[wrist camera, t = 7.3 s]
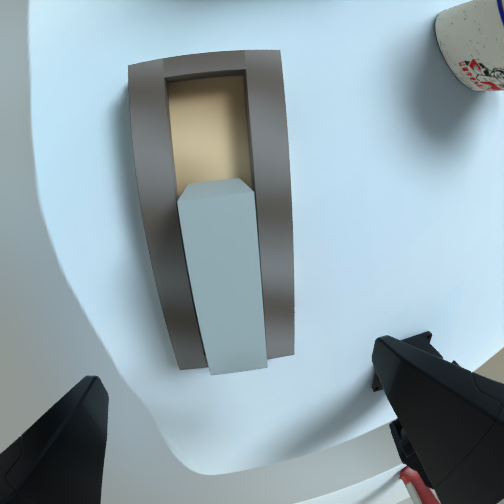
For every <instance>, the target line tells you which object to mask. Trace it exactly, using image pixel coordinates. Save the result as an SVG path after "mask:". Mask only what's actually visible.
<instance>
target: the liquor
mask: <svg viewBox="0 0 504 504" xmlns="http://www.w3.org/2000/svg"><path fill="white" fill-rule="evenodd" d="M399 478H400V479H402V480H403V482H404V484H405V486H406V488H407V490H408V492H409V494H410V497H411V499H412V501H413V503H414V504H441V503H440V501H439V499H438V497H437V495H436V493H435V491H434V489H431V488H429V487H427V486H425V484H424V482H423V480H422V479H421V477H420V475H419V474H418V472H417V471H414V470H412V469H411V468H410V467H408V466H406V467H405V468H404V469H403V470H402V472H401V474H400V477H399Z"/></svg>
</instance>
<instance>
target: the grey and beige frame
mask: <svg viewBox="0 0 504 504" xmlns="http://www.w3.org/2000/svg"><path fill="white" fill-rule="evenodd" d="M128 83H129V104H130V119H131V131H132V142H133V152H134V161H135V169H136V177H137V184H138V191H139V198H140V204H141V210H142V216H143V222H144V228H145V233H146V239H147V244H148V249H149V254H150V259H151V263H152V268H153V272H154V277H155V281H156V286H157V290H158V294H159V298H160V302H161V306H162V310H163V314H164V318H165V321H166V325H167V329H168V332H169V336H170V339H171V343H172V346H173V350H174V353H175V356H176V359H177V363H178V366H179V369H180V370H185V369H196V368H206V367H209V366H208V361H207V357H206V353H205V349H204V344H203V340H202V336H201V331H200V327H199V322H198V317H197V312H196V308H195V303H194V298H193V293H192V287H191V282H190V277H189V272H188V266H187V260H186V255H185V249H184V243H183V237H182V230H181V224H180V217H179V211H178V204H177V201H178V199H179V198H180V196H181V194H182V193H183V191H184V190H185V188H186V187H187V185H188V184H190V183H197V182H205V181H213V180H221V179H230V178H240V179H241V180H242V181H243V182H244V183H245V184H246V185H247V186H248V187H249V188H250V189H251V190H252V191H254V198H255V210H256V222H257V234H258V247H259V260H260V273H261V285H262V299H263V312H264V325H265V339H266V352H267V359H273V358H278V357H284V356H290V355H294V253H293V221H292V198H291V178H290V160H289V145H288V131H287V117H286V105H285V93H284V82H283V72H282V62H281V53H280V50H237V51H220V52H208V53H198V54H190V55H182V56H175V57H169V58H163V59H157V60H152V61H147V62H142V63H137V64H133V65H128Z"/></svg>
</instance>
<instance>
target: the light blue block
mask: <svg viewBox="0 0 504 504" xmlns="http://www.w3.org/2000/svg"><path fill="white" fill-rule="evenodd" d="M177 204H178V211H179V217H180V224H181V230H182V237H183V243H184V249H185V255H186V260H187V266H188V272H189V277H190V282H191V287H192V293H193V298H194V303H195V308H196V312H197V317H198V322H199V327H200V331H201V336H202V340H203V344H204V349H205V353H206V357H207V361H208V366H209V370H210V374H211V375H218V374H227V373H234V372H242V371H248V370H255V369H261V368H267V367H268V366H267V352H266V339H265V325H264V312H263V299H262V285H261V273H260V260H259V247H258V234H257V222H256V210H255V198H254V191H252V190H251V189H250V188H249V187H248V186H247V185H246V184H245V183H244V182H243V181H242V180H241V179H240V178H230V179H221V180H213V181H205V182H197V183H190V184H188V185H187V187H186V188H185V190H184V191H183V193H182V194H181V196H180V198H179V199H178V201H177Z"/></svg>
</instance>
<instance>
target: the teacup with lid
mask: <svg viewBox="0 0 504 504" xmlns="http://www.w3.org/2000/svg"><path fill="white" fill-rule="evenodd" d="M435 31H436V37H437V41H438V44H439V47H440V50H441V52H442V54H443V56H444V58H445V60H446V62H447V64H448V65H449V67H450V68H451V70H452V71H453V73H454V74H455V75H456V77H457V78H458V79H459V80H460V81H461V82H462V83H463V84H465V85H466V86H467V87H469V88H471V89H473V90H476V91H496V90H504V0H473V1H469V2H466V3H463V4H460V5H458V6H455V7H452V8H449V9H446V10H444V11H442V12H440V13H439V15H438V16H437V18H436V23H435Z"/></svg>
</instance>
